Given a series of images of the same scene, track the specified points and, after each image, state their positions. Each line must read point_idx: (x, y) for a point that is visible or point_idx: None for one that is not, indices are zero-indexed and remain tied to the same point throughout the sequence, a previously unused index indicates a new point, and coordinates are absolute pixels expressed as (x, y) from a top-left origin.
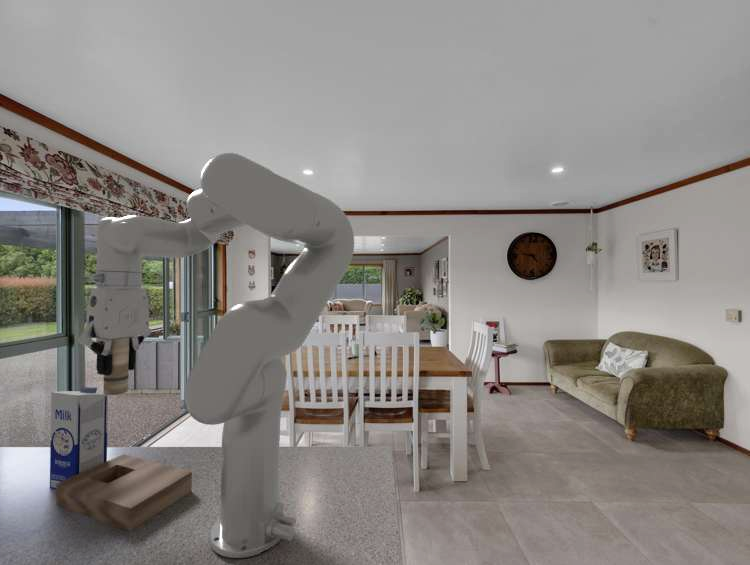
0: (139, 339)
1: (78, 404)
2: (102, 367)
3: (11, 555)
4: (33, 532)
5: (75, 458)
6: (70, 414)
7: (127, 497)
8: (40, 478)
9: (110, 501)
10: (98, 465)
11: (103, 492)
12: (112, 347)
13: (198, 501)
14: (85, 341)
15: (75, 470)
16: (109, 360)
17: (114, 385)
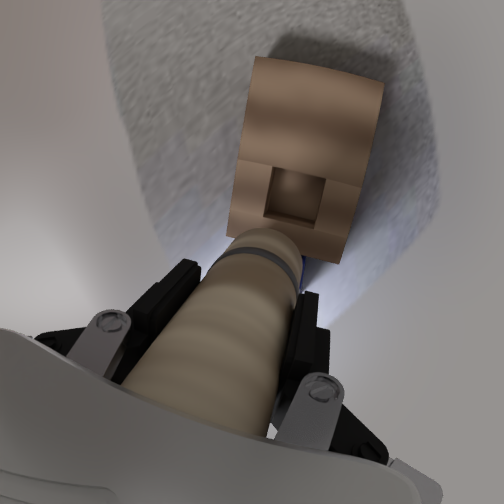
0: (59, 350)
1: None
2: (328, 337)
3: (435, 209)
4: (397, 223)
5: (302, 275)
6: None
7: (358, 110)
8: None
9: (374, 130)
10: None
11: (353, 163)
12: (263, 403)
13: (286, 35)
14: (423, 491)
15: (304, 265)
16: (312, 338)
17: (292, 259)
